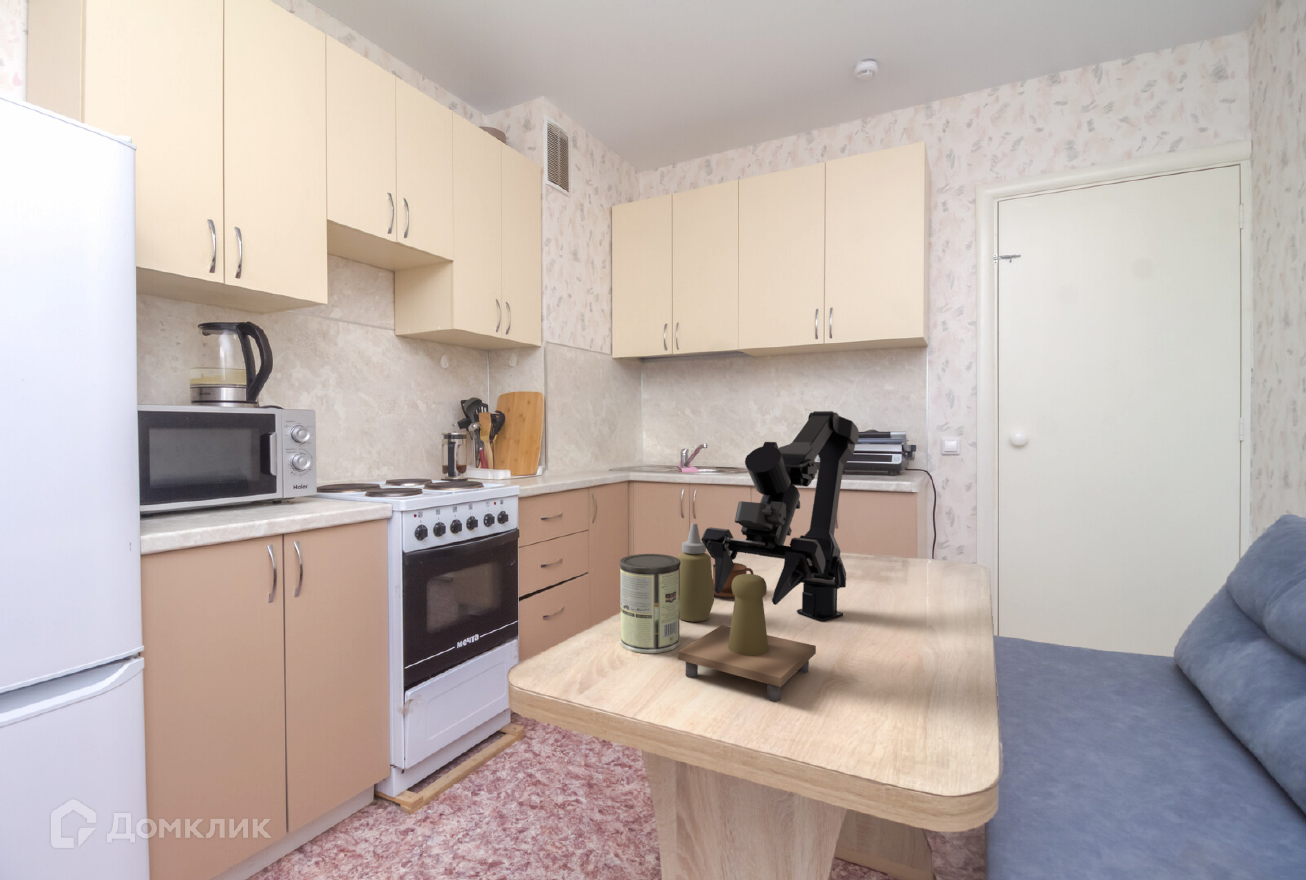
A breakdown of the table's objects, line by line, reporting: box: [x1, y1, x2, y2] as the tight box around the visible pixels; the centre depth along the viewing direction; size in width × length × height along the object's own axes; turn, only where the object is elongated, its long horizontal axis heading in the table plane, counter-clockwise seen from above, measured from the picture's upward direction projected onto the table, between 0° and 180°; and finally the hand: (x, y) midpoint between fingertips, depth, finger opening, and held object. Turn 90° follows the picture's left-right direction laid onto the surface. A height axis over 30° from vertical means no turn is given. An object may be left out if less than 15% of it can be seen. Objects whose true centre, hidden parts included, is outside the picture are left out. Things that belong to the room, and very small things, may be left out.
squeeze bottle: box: [676, 523, 715, 622], centre depth 115 cm, size 8×8×18 cm
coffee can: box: [619, 553, 681, 654], centre depth 103 cm, size 10×10×14 cm
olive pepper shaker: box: [728, 573, 769, 656], centre depth 91 cm, size 6×6×11 cm
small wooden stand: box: [677, 624, 817, 702], centre depth 91 cm, size 16×14×4 cm
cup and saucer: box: [712, 562, 755, 599], centre depth 132 cm, size 12×12×6 cm
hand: (744, 597), depth 89 cm, fingers open, 9 cm apart
